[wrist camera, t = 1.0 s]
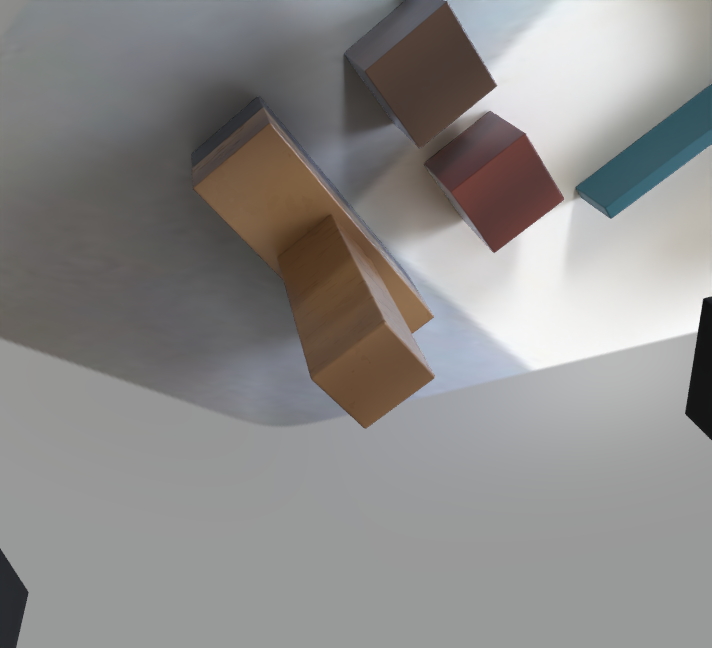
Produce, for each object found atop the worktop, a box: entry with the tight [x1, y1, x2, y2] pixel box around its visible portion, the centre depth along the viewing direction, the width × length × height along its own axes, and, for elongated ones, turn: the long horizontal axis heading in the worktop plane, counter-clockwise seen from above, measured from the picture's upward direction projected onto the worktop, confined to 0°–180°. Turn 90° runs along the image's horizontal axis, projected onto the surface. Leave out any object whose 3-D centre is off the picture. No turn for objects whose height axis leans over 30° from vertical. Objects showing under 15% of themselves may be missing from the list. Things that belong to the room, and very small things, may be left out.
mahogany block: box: [424, 111, 564, 253], centre depth 32 cm, size 4×4×4 cm
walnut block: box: [344, 0, 497, 148], centre depth 29 cm, size 4×4×4 cm
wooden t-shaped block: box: [192, 97, 435, 428], centre depth 27 cm, size 12×4×14 cm, turn 38°
